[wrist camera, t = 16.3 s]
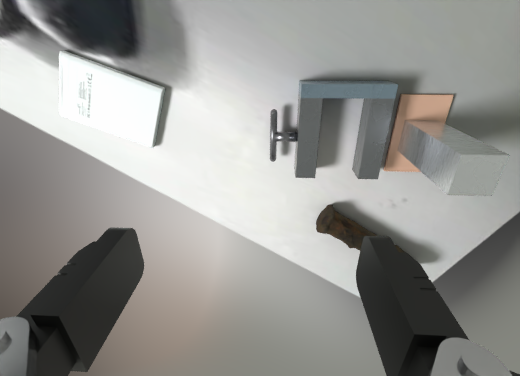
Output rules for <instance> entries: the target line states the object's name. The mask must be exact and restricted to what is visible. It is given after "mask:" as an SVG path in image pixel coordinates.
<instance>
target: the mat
mask: <svg viewBox="0 0 520 376" xmlns="http://www.w3.org/2000/svg"><path fill="white" fill-rule="evenodd" d="M453 96H454V95H441V94H401V95H400V99H399V104H398V108H397V113H396V117H395V122H394V126H393V130H392V135H391V139H390V144H389V148H388V153H387V157H386V162H385V166H384V171H404V172H421V171H420V170H419V169H418V168H416V167H415V166H414V165H413V164H412V163H411V162H410V161H409V160H407V159H406V158H405V157H404V156H403V155H402V154H401V153H400V152H399V151H397V150H398V146H399V142H400V138H401V134H402V129H403V125H404V121H405V120H438V121H440V122H442V123H444V124H445V122H446V118H447V115H448V112H449V109H450V105H451V102H452V99H453Z"/></svg>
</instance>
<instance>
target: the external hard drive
mask: <svg viewBox="0 0 520 376" xmlns="http://www.w3.org/2000/svg"><path fill="white" fill-rule="evenodd" d="M164 93H165V87H162V86H159V85H157V84H154V83H151V82H148V81H146V80H143V79H140V78H137V77H135V76H132V75H129V74H127V73H124V72H121V71H118V70H116V69H113V68H110V67H107V66H105V65H102V64H99V63H97V62H94V61H91V60H88V59H86V58H83V57H80V56H78V55H75V54H72V53H69V52H67V51H60V53H59V114H60V116H62V117H65V118H68V119H71V120H73V121H76V122H79V123H82V124H85V125H87V126H90V127H93V128H96V129H99V130H102V131H105V132H108V133H110V134H113V135H116V136H119V137H122V138H125V139H128V140H131V141H133V142H136V143H139V144H142V145H145V146H148V147H151V148H153V147H154V146H155V143H156V137H157V131H158V126H159V120H160V115H161V109H162V104H163V98H164Z"/></svg>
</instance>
